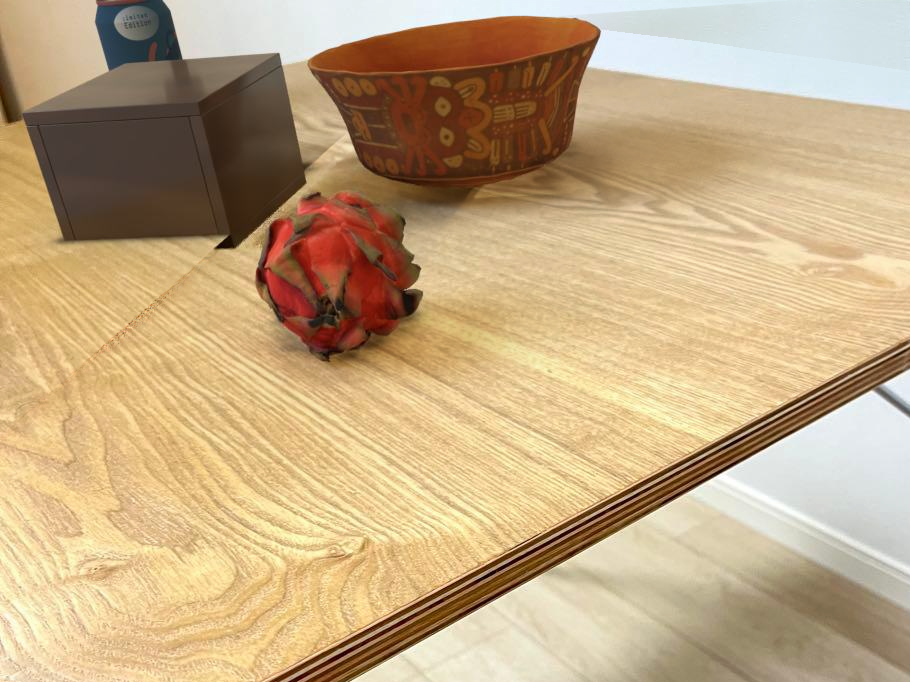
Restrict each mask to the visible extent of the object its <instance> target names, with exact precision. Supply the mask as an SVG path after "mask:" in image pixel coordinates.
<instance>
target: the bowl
mask: <svg viewBox="0 0 910 682" xmlns="http://www.w3.org/2000/svg"><path fill="white" fill-rule="evenodd" d="M601 33H602V30H601V29H600V28H599V27H598V26H597V25H595V24H593V23H591V22H589V21H587V20H583V19H580V18H578V17H570V18H569V17H555V16H554V17H553V16H538V15H536V16H535V15H505V16H504V15H503V16H495V17H485V18H477V19H471V20H459V21H452V22H444V23H437V24H430V25H424V26H417V27H412V28H406V29H403V30H398V31H395V32H393V31H392V32H389V33H384V34H378V35H374V36H370V37H366V38H363V39H359V40H356V41H351V42H346V43H342V44H340V45H338V46H334V47H330V48H327V49H325V50H323V51H321V52H318V53H317V54H314V55H313V56H312V57H310V58H309V59H308V60H307V63H306V64H307V65H306V66H307V67H308V69H309V71H310V73H311V74H312V76H313V77H314V78H315V79H316V81H317V82H318V83H319V84H320V85H321V86H322V88H323V89H324V91H325V92H326V94H327V95H328V96H329V98H330V99H331V100H332V102H333V104H334V105H335V106H336V108H337V110H338V112H339V114H340V116H341V118H342V120H343V122H344V124H345V126H346V130H347V133H348V135H349V138H350V141H351V143H352V146H353V149H354V151H355V154H356V156H357V159H358V161H359V163H360V164H361V165H362V166H363V168H364V169H366V170H368V171H369V172H371V173H372V174H374V175H376V176H379V177H382V178H383V179H387V180H390V181H394V182H399V183H403V184H406V185H412V186H418V187H425V188H435V189H464V188H473V187H481V186H487V185H488V186H489V185H492V184H496V183H502V182H506V181H509V180H513V179H516V178H519V177H522V176H524V175H527V174H531V173H534V172H535V171H537V170H539V169H541V168H542V167H544V166H546V165H548V164H551V163H552V162H554V161H556V159H558V158H559V157H560V156H561V155H563V154H564V153H565V152H566V151H567V150H568V149H569V148H570V145H571V142H572V139H573V135H574V126H575V120H576V112H577V105H578V99H579V92H580V87H581V84H582V81H583V78H584V74H585V71H586V70H587V67H588V65H589V63H590V61H591V59H592V56H593V54H594V51H595V49H596V47H597V44H598V42H599V40H600V37H601V35H602V34H601Z"/></svg>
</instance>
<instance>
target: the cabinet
mask: <svg viewBox="0 0 910 682" xmlns="http://www.w3.org/2000/svg"><path fill="white" fill-rule="evenodd" d="M21 116H22V118H23V121H24V125H25V126H26V131H27V133H28V136H29V139H30V142H31V145H32V149H33V151H34V154H35V157H36V160H37V164H38V166H39V169H40V172H41V175H42V177H43V178H42V179H43V181H44V184H45V187H46V190H47V193H48V196H49V199H50V202H51V205H52V208H53V211H54V214H55V218H56V221H57V223H58V226H59V229H60V232H61V236H62V238H63V240H64V242H72V241H74V242H75V241H97V240H121V239H122V240H124V239H126V240H127V239H150V238H152V239H153V238H175V237H176V238H177V237H178V238H179V237H202V236H203V237H204V236H226V237H225V238H224V239H223V240H222V241H220V242H219V243H217V245H216V246H214V247H213V250H224V249H225V250H226V249H236V248H237V246H239V245H241V243H242V242H243V241H245V240H246V239H247V238H248V237H249V236H250V235H251V234H252V233H253V232H255V231H256V229H257V228H259V227H260V226H261V225H262V224H263V223H265V222H266V221H267V220H268V219H269V218H270V217H271V216H272V215H273V214H274V213H276V211H278V210H279V209H280V208H281V207H282V206H284V204H285V203H286V202H288V201H289V200H290V199H291V198H292V197H293V196H295V194H296V193H298V191H300V190H301V189H302V188H303V187H304V186H305V185H306V184H308V183H307V178H306V173H305V168H304V163H303V159H302V154H301V153H302V152H301V148H300V143H299V138H298V135H297V130H296V129H297V128H296V124H295V119H294V114H293V110H292V105H291V101H290V96H289V91H288V87H287V82H286V75H285V71H284V67H283V63H282V57H281V53H280V52H270V53H269V52H268V53H254V54H240V55H239V54H238V55H227V56H224V55H223V56H212V57H197V58H196V57H195V58H183V59H182V60H168V61H153V62H139V63H125V64H123V65H121V66H119V67H117V68H115V69H113V70H110V71H109V70H108V71H107V72H104V73H102V74H100V75H98V76H96V77H94V78H91V79H90V80H87V81H85V82H83V83H82V84H79V85H77V86H74V87H72V88H71V89H68V90H66V91H64V92H61V93H59V94H57V95H55V96H53V97H51V98H49V99H47V100H44V101H43V102H41V103H38V104H36V105H34V106H32V107H29V108H28V109H26V110H24V111H22V112H21Z"/></svg>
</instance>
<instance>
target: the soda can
mask: <svg viewBox="0 0 910 682" xmlns="http://www.w3.org/2000/svg"><path fill="white" fill-rule="evenodd" d="M95 4H96V6H97V7H96V13H95V18H94V24H95V27H96V31H97V34H98V39H99V41H100V44H101V48H102V52H103V56H104V59H105V62H106V66H107V69H108V71H110V70H113V69H115V68H117V67H119V66H121V65H123V64H125V63H139V62H153V61H168V60H182V59H184V58H183V54H182V50H181V47H180V43H179V39H178V34H177V30H176V27H175V23H174V20H173V16H172V15H173V14H172V12H171V9H170V8H169V7H168V5H167V4H166V2H165V1H164V0H95Z"/></svg>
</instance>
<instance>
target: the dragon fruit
mask: <svg viewBox="0 0 910 682" xmlns="http://www.w3.org/2000/svg"><path fill="white" fill-rule="evenodd" d="M406 225H407V223H406V219H405V217H404V216H403V215H402V214H401V213H400V211H398V210H397V209H395V208H393V207H392V206H387V205H381V204H379V203H376V202H373V201H372V200H371V198H370V197H369V196H368V195H367V194H366V193H364V192H363V191H360V190H357V189H347V190H340V191H337V192H336V193H335V194H334V195H332V196H331V197H330V198H327V197H325V196H324V195H322V191H321V192H320V191H319V190H318V191H315V192H309V193H305V194H302V195H301V196H300V197H299V199H298V206H297V209H296V215H294V214H291V215H287V216H286V217H285V218H276V219H274V220H273V221H272V222H271V223H270V224H269V226H268V228H267V229H266V230H265V232H264V234H263V238H262V240H261V253H260V257H259V260H258V262H257V265H258V266H257V267H256V269H255V278H254V279H255V280H254V283H255V288H256V291H257V293H258V296H259V297H260V299H261V300H262V301H264V302H265V303H266V304H267V305H268V307H269V309H270V310H271V309H272V312H273V313H274V316H275V317H276V318H277V320H278V322H280V323H281V324H282V325H283V326H284V327H285V328H286V329H287V330H288V331H290V332H292V333H293V334H294V335H296V336H298V337H299V339H300V341H301V342H302V344H304V345H305V346H307V347H308V349H309V354H310V355H312V356H314V357H315V358H316V359H318V360H319V361H321V362H328V363H331V360H330V359H331V357H332V356H336V355H342V354H344V352H347V351H349V350H352V349H353V348H354V349H357V348H363V347H365V346H367V344H368V343H370V342H371V338H372V335H373V334H375V335H376V336H381V337H387V336H389V335H390V334H391V333H393V332H394V331H395V330H396V329H397V327H398V326H399V324H400V323H401V322H402V320H403V319H404V318H407V317H410V316H412V315H414V313H416V311H417V310H418V308H419V306H420V303H421V301H422V299H423V298H424V297H423V296H424V291H423V290H421V289H418V288H411V287H412V286H413V285H415V284H416V283H417V281H418V280H419V278H420V275H421V270H422V267H421V266H420V265H419V264H418V263H413V262H414V260H415V254H414V253H412V252H410V251H409V250H408V248H406V247H405V245H404V244H403V241H404V237H405V233H404V231H405V227H406ZM366 331H368V332H370V333H369V334H368V333H367V332H366Z"/></svg>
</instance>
